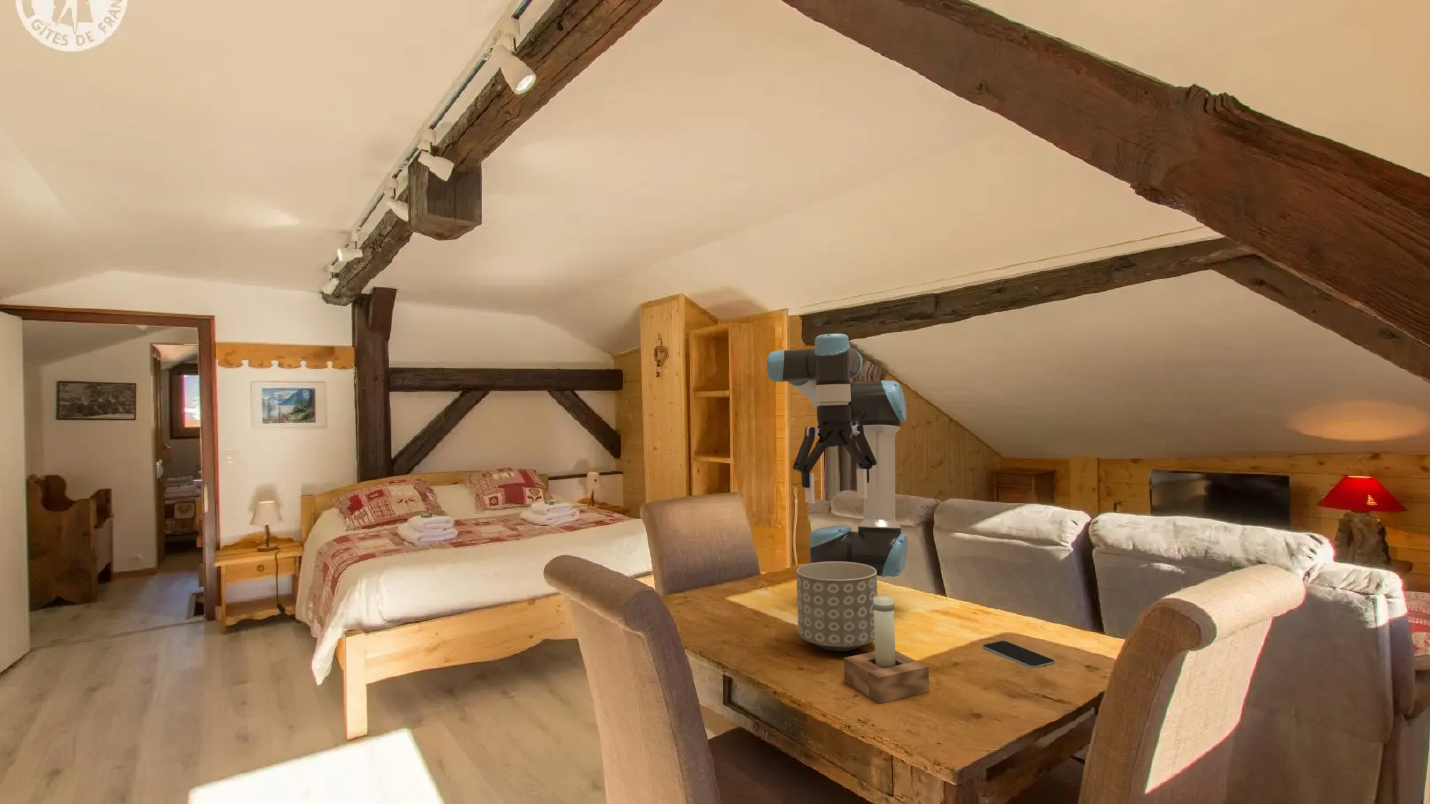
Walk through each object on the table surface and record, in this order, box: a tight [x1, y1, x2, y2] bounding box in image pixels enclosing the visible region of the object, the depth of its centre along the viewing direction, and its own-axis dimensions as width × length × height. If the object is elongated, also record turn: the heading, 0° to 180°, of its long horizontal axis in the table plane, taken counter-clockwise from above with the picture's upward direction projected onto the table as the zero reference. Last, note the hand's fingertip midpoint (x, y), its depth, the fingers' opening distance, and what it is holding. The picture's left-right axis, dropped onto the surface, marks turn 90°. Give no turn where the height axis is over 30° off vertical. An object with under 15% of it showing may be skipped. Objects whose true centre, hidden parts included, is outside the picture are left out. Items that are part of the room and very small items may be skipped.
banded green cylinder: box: [873, 595, 896, 669], centre depth 141 cm, size 4×4×18 cm
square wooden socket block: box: [843, 650, 930, 704], centre depth 141 cm, size 12×12×5 cm
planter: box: [795, 562, 879, 653], centre depth 166 cm, size 19×19×18 cm
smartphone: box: [982, 640, 1056, 669], centre depth 157 cm, size 7×1×15 cm
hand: (836, 500), depth 153 cm, fingers open, 13 cm apart
